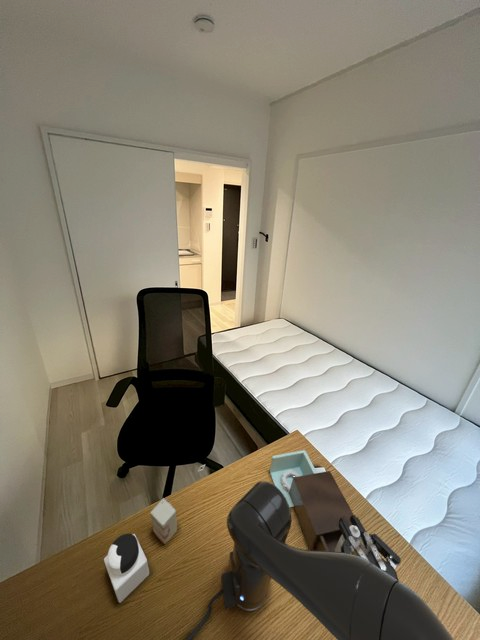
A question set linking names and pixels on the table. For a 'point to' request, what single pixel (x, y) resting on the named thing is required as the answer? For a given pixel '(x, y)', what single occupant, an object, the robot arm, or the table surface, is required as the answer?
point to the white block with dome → (126, 565)
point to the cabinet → (318, 505)
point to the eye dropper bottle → (355, 535)
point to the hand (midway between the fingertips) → (346, 518)
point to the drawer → (330, 542)
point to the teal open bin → (290, 470)
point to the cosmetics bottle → (164, 520)
